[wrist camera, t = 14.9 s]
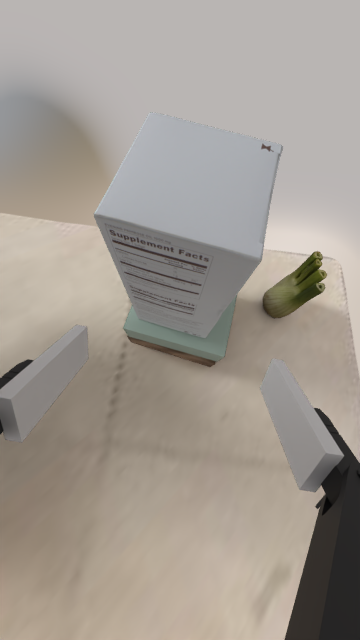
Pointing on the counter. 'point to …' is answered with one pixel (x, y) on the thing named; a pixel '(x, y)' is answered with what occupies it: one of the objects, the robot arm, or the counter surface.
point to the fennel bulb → (296, 288)
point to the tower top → (184, 335)
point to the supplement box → (188, 219)
